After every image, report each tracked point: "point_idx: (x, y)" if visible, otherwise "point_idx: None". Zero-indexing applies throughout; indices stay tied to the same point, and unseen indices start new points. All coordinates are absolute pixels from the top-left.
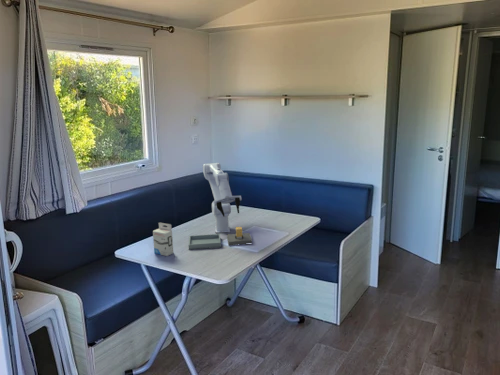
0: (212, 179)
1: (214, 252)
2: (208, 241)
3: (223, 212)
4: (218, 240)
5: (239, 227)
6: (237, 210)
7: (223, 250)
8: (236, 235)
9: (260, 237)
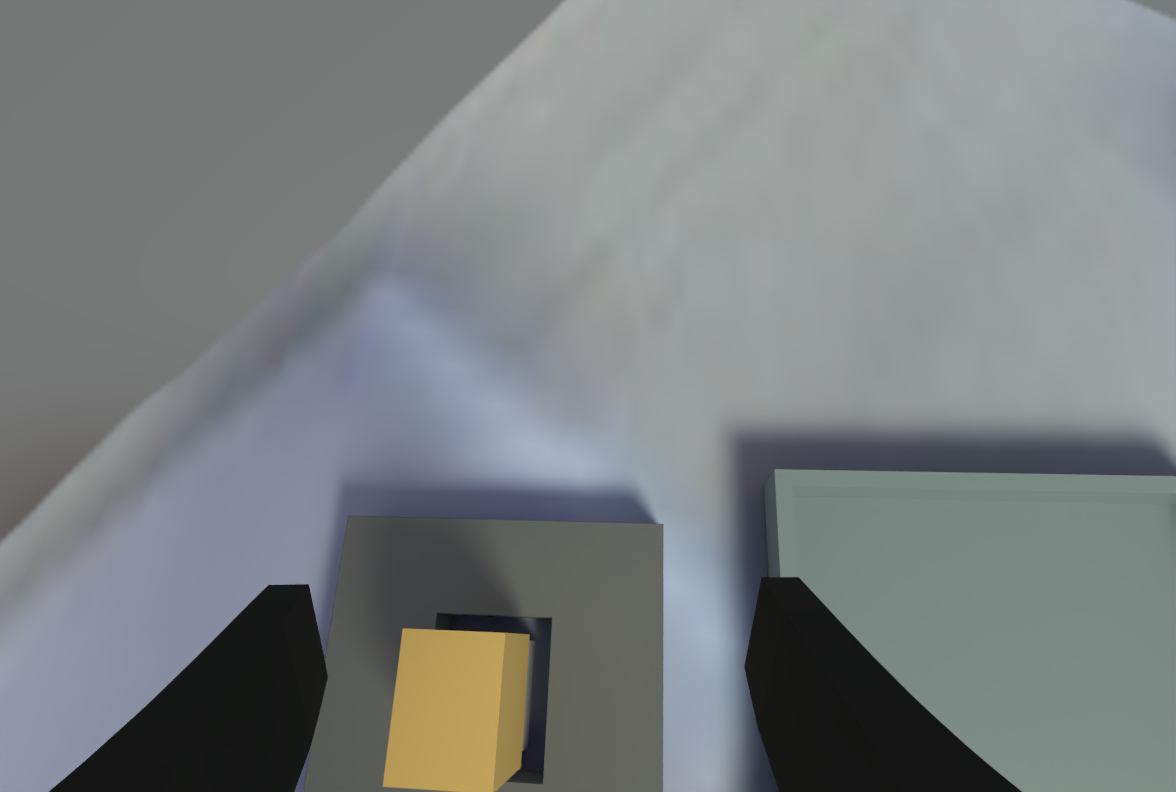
0: None
1: (838, 338)
2: (962, 731)
3: (798, 615)
4: None
5: (427, 750)
6: (296, 625)
7: (732, 380)
8: (525, 658)
9: None
